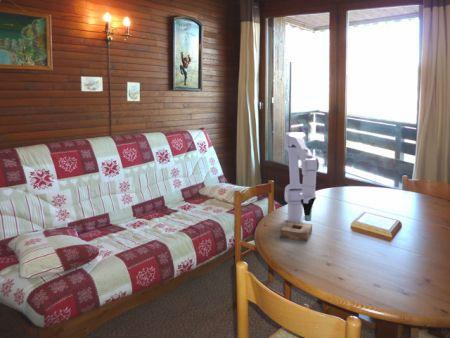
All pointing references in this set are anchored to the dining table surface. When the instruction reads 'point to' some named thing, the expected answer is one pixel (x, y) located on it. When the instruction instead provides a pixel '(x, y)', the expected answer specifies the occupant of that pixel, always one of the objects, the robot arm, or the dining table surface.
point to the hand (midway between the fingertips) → (307, 213)
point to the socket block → (296, 231)
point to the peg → (308, 218)
